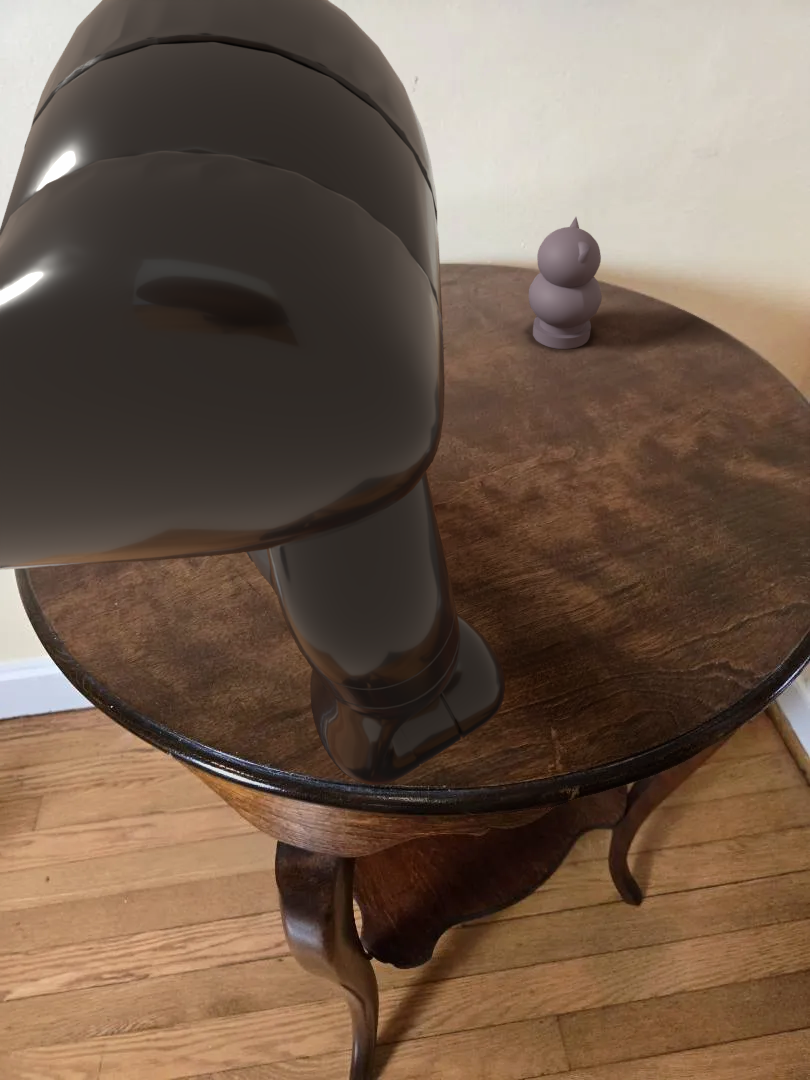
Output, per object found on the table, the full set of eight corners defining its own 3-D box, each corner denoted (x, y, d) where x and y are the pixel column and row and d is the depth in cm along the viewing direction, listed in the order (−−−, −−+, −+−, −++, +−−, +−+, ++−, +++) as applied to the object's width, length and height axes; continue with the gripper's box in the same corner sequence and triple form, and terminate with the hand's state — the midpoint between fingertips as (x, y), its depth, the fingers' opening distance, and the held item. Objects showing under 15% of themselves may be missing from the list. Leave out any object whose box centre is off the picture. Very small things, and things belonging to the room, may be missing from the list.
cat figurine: (519, 316, 98) (528, 214, 90) (586, 313, 98) (601, 211, 90) (531, 355, 92) (542, 249, 84) (603, 352, 92) (620, 246, 84)
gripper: (387, 445, 57) (292, 334, 68) (180, 513, 52) (115, 382, 63) (390, 527, 62) (302, 411, 73) (203, 596, 57) (138, 461, 68)
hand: (215, 399), depth 68 cm, fingers closed on teal block, 5 cm apart
